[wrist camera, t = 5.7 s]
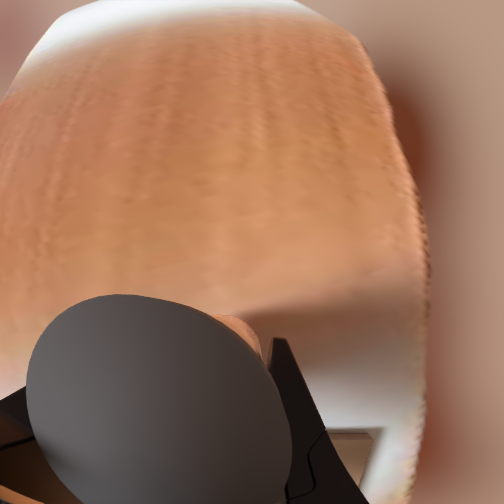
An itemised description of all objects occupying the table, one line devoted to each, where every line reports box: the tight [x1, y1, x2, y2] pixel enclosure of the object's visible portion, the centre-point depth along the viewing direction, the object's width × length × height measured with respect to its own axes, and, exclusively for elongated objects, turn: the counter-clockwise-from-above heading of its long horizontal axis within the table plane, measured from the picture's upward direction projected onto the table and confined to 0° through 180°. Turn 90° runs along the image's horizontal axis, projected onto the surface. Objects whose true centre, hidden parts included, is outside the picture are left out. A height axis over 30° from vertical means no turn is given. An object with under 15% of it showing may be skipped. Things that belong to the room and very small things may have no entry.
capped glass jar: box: [26, 294, 292, 504], centre depth 9 cm, size 4×4×12 cm
